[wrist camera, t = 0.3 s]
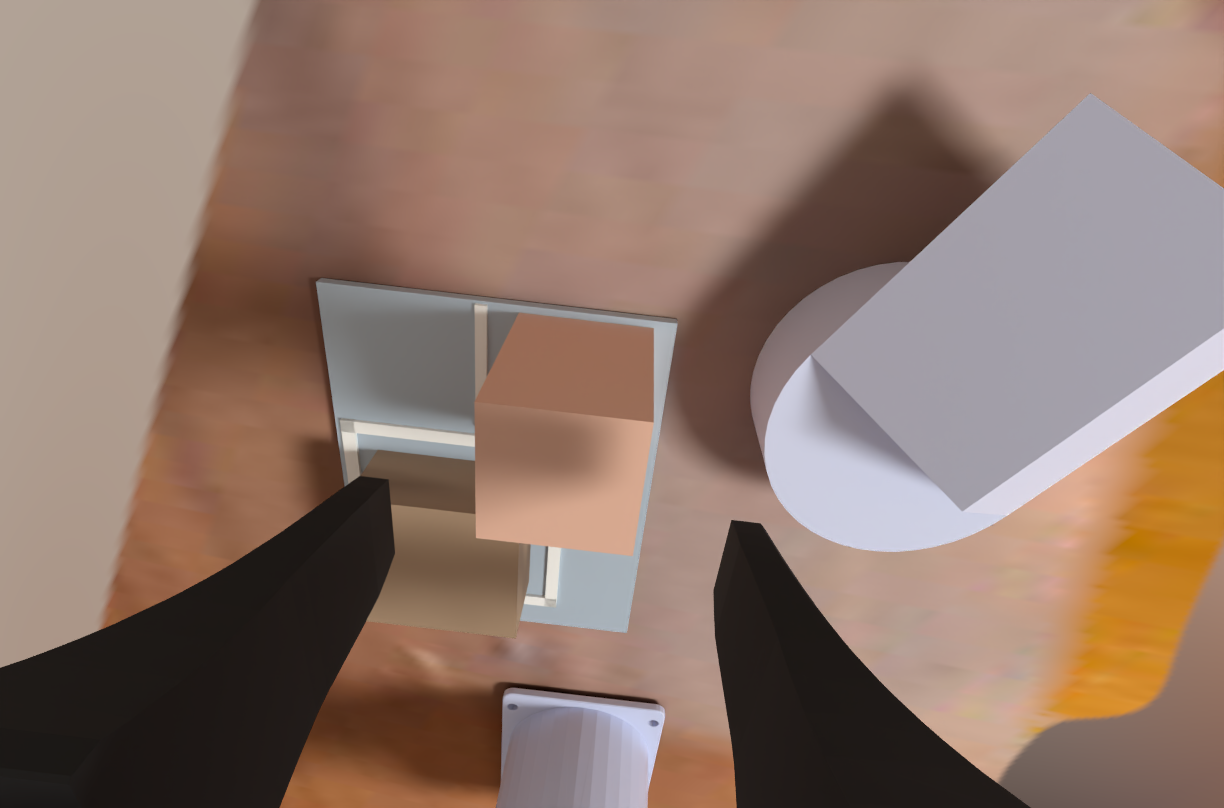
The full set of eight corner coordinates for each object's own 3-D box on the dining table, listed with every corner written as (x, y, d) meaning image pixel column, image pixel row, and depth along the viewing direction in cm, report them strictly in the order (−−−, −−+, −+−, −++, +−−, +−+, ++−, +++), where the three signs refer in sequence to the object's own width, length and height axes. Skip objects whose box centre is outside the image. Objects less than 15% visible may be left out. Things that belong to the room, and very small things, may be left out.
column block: (637, 440, 23) (633, 555, 18) (515, 426, 23) (475, 538, 18) (653, 327, 21) (653, 422, 16) (519, 312, 21) (474, 401, 16)
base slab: (528, 581, 27) (515, 638, 24) (390, 564, 27) (361, 620, 24) (534, 467, 24) (519, 519, 21) (378, 449, 24) (344, 499, 21)
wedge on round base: (1016, 84, 17) (697, 401, 23) (1201, 106, 11) (712, 525, 17) (1194, 284, 20) (867, 527, 25) (1422, 386, 14) (931, 673, 19)
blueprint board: (627, 625, 29) (626, 635, 28) (364, 595, 29) (359, 604, 28) (677, 319, 21) (677, 325, 21) (321, 278, 21) (313, 283, 21)
